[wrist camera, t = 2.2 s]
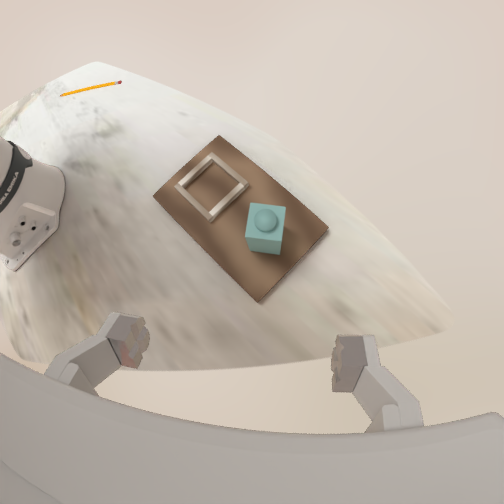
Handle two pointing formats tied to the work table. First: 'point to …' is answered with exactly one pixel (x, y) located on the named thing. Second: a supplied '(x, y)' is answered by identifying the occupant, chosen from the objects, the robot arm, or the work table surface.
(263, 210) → the studded block
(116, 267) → the work table surface
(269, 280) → the brown board with frame
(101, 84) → the pencil
